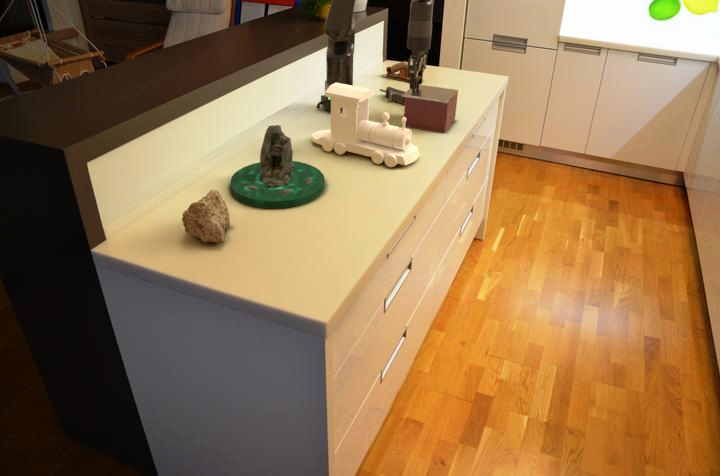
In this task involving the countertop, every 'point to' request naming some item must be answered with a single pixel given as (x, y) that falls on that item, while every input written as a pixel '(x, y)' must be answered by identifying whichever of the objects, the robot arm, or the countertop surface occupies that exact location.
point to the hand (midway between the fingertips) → (415, 86)
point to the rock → (207, 218)
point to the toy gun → (394, 94)
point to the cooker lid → (430, 93)
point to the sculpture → (402, 69)
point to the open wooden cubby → (430, 114)
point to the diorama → (277, 176)
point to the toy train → (364, 129)
